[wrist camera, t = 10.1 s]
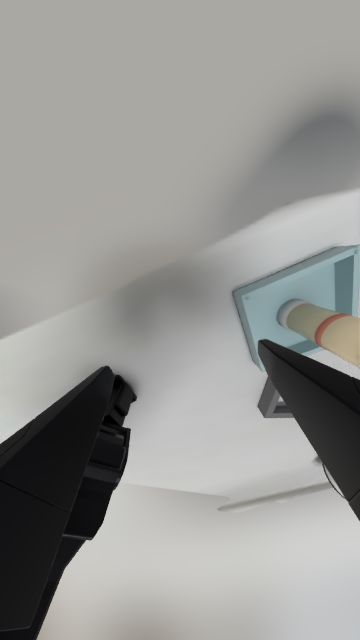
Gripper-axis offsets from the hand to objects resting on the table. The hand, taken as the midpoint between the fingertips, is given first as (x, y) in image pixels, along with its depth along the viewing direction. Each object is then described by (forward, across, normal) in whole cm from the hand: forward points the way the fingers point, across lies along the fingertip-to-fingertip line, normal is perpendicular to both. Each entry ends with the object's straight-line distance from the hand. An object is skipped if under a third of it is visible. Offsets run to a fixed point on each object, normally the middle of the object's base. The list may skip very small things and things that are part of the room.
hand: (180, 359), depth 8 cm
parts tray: (+14, -16, +7) cm, 22 cm away
